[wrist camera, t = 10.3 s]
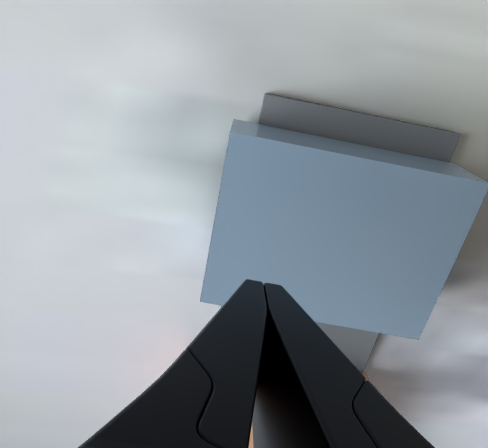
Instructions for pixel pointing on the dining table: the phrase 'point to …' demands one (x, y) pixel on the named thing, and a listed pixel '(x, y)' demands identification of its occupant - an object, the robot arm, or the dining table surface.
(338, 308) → the blue-grey picture frame
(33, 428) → the dining table surface
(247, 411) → the robot arm
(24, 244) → the dining table surface
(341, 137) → the grey rectangular block
